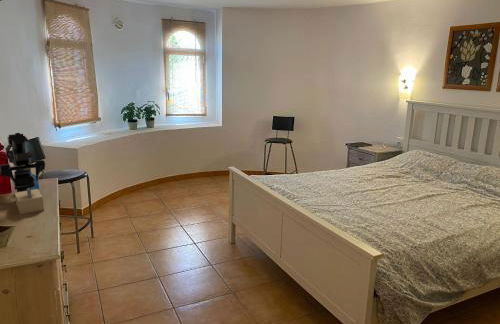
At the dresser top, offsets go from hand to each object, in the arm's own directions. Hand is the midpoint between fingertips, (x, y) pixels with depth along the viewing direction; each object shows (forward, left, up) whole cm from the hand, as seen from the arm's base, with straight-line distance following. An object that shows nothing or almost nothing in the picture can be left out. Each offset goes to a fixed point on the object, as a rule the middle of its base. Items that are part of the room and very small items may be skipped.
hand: (26, 182), depth 180 cm
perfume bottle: (-26, -20, -14) cm, 36 cm away
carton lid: (0, 0, -7) cm, 7 cm away
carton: (0, 0, -13) cm, 13 cm away
